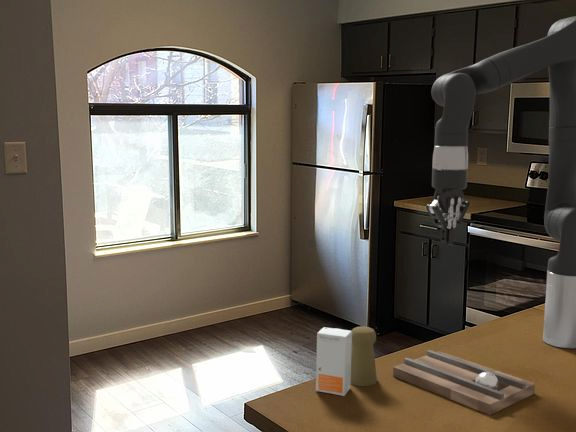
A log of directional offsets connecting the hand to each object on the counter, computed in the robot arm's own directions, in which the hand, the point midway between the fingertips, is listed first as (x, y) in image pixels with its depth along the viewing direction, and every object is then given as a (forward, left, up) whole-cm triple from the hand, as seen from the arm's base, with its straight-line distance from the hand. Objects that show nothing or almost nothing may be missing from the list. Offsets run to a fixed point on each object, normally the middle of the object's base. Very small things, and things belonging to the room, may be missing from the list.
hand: (446, 244), depth 145 cm
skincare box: (+34, 0, -25) cm, 42 cm away
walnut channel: (+12, +14, -25) cm, 31 cm away
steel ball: (+12, +20, -23) cm, 33 cm away
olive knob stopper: (+26, 0, -25) cm, 36 cm away
